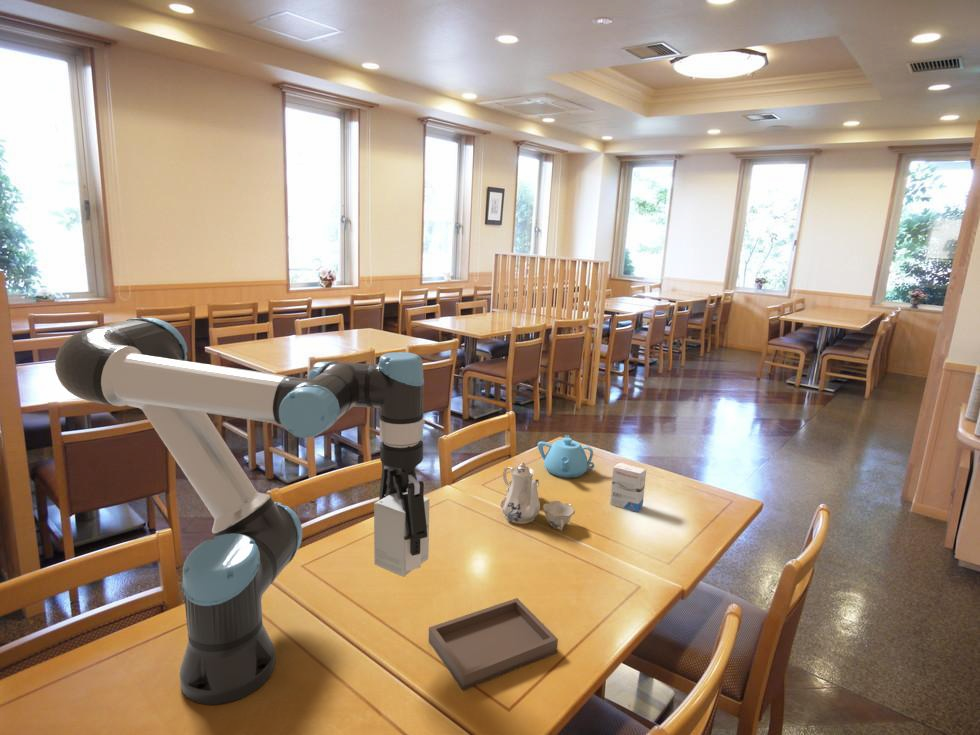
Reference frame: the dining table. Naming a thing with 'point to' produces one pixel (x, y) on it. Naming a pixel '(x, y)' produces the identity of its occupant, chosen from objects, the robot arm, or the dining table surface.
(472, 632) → the tray
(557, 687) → the dining table surface
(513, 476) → the chinaware
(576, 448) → the teapot
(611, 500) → the ink box
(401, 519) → the supplement box
